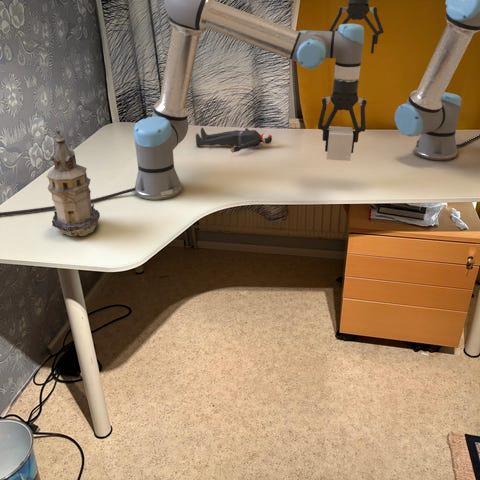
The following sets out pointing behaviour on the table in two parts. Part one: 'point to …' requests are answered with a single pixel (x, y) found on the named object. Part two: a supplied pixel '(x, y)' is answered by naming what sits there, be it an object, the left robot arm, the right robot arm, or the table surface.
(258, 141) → the toy
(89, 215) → the miniature building
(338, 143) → the brick
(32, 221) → the table surface
